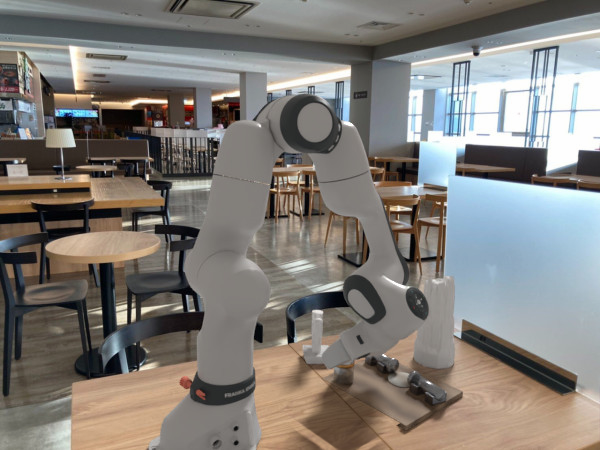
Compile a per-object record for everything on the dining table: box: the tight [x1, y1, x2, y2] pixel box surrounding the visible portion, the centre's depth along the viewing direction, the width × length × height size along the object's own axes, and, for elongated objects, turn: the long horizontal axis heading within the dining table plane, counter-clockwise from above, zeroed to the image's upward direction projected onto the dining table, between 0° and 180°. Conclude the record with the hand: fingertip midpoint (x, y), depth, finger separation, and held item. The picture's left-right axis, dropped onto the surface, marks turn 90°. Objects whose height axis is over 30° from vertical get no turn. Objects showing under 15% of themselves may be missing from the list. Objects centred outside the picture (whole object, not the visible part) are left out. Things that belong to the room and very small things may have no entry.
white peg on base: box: [302, 309, 330, 365], centre depth 130 cm, size 7×9×15 cm
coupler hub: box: [333, 360, 356, 384], centre depth 119 cm, size 5×5×9 cm
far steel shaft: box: [364, 353, 400, 374], centre depth 127 cm, size 9×4×4 cm, turn 31°
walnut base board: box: [321, 359, 464, 431], centre depth 118 cm, size 22×26×2 cm
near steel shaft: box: [407, 370, 447, 406], centre depth 113 cm, size 9×4×4 cm, turn 31°
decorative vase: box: [413, 275, 456, 370], centre depth 132 cm, size 11×11×25 cm
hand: (342, 360), depth 119 cm, fingers closed on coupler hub, 5 cm apart
